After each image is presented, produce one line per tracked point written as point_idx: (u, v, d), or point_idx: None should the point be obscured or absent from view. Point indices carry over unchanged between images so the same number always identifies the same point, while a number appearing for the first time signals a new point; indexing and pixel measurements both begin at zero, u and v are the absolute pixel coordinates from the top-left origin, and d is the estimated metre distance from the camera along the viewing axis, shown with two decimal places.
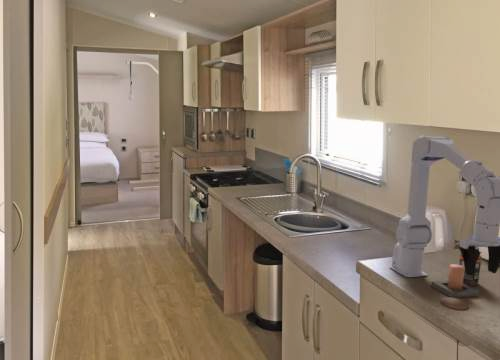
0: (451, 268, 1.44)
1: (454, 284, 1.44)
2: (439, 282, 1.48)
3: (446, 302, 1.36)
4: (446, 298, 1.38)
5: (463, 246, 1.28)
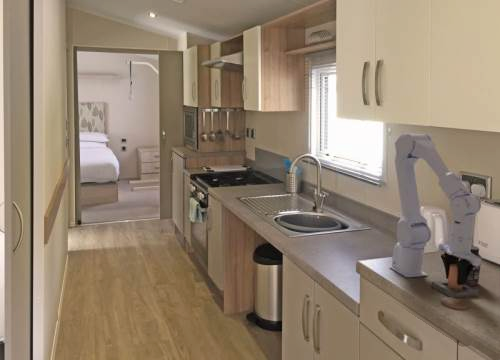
0: (451, 268, 1.44)
1: (454, 284, 1.44)
2: (439, 282, 1.48)
3: (446, 302, 1.36)
4: (446, 298, 1.38)
5: None
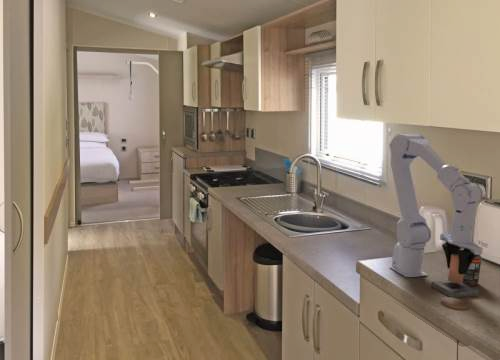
0: (452, 257, 1.44)
1: (456, 273, 1.43)
2: (439, 282, 1.48)
3: (446, 302, 1.36)
4: (446, 298, 1.38)
5: None
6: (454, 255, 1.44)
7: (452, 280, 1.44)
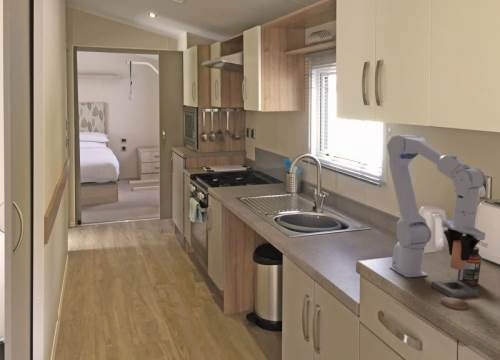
0: (454, 243, 1.42)
1: (458, 259, 1.41)
2: (439, 282, 1.48)
3: (446, 302, 1.36)
4: (446, 298, 1.38)
5: None
6: (456, 241, 1.43)
7: (454, 267, 1.42)
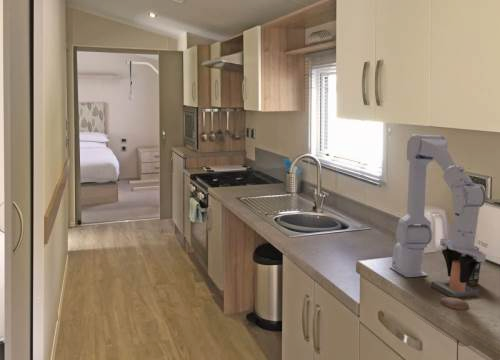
0: (453, 264, 1.34)
1: (457, 281, 1.33)
2: (439, 282, 1.48)
3: (446, 302, 1.36)
4: (446, 298, 1.38)
5: None
6: (455, 262, 1.34)
7: (453, 289, 1.34)
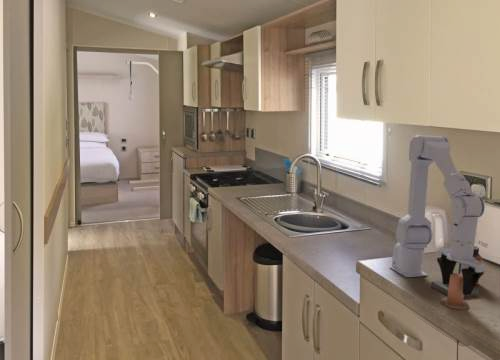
0: (451, 278, 1.34)
1: (455, 295, 1.34)
2: (439, 282, 1.48)
3: (446, 302, 1.36)
4: (446, 298, 1.38)
5: None
6: (453, 275, 1.35)
7: (451, 302, 1.35)
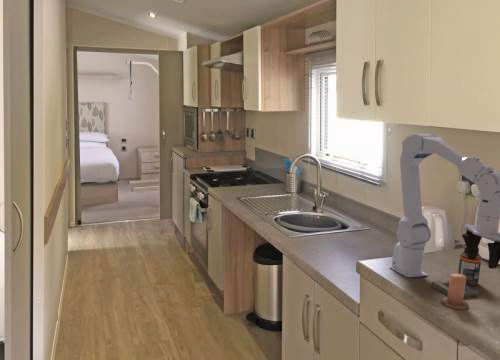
0: (451, 278, 1.34)
1: (455, 295, 1.34)
2: (439, 282, 1.48)
3: (446, 302, 1.36)
4: (446, 298, 1.38)
5: None
6: (453, 275, 1.35)
7: (451, 302, 1.35)
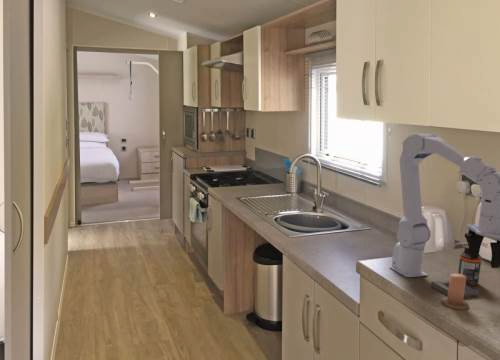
0: (451, 278, 1.34)
1: (455, 295, 1.34)
2: (439, 282, 1.48)
3: (446, 302, 1.36)
4: (446, 298, 1.38)
5: None
6: (453, 275, 1.35)
7: (451, 302, 1.35)
